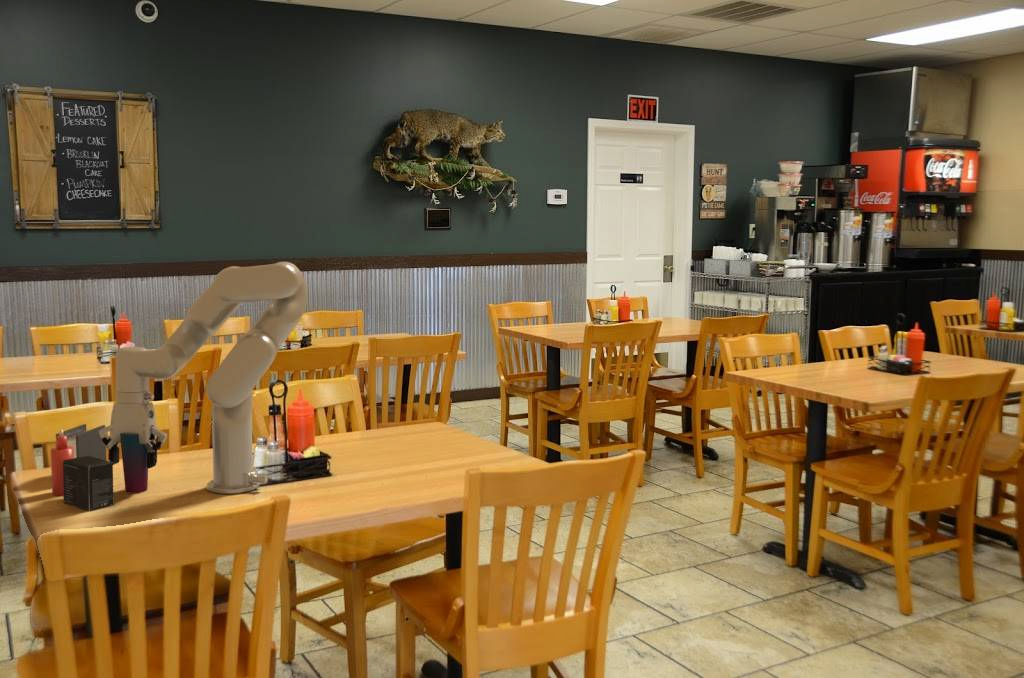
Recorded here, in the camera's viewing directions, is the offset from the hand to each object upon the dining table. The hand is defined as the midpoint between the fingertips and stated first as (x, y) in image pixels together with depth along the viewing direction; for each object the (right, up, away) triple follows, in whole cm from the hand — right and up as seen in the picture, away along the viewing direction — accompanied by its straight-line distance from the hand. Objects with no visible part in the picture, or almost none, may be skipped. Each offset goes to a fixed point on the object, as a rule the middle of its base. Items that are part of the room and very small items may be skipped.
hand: (132, 465), depth 218 cm
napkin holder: (-18, -5, +12) cm, 22 cm away
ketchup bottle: (-16, -6, -2) cm, 17 cm away
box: (-6, -8, -10) cm, 14 cm away
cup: (0, -7, +1) cm, 7 cm away
